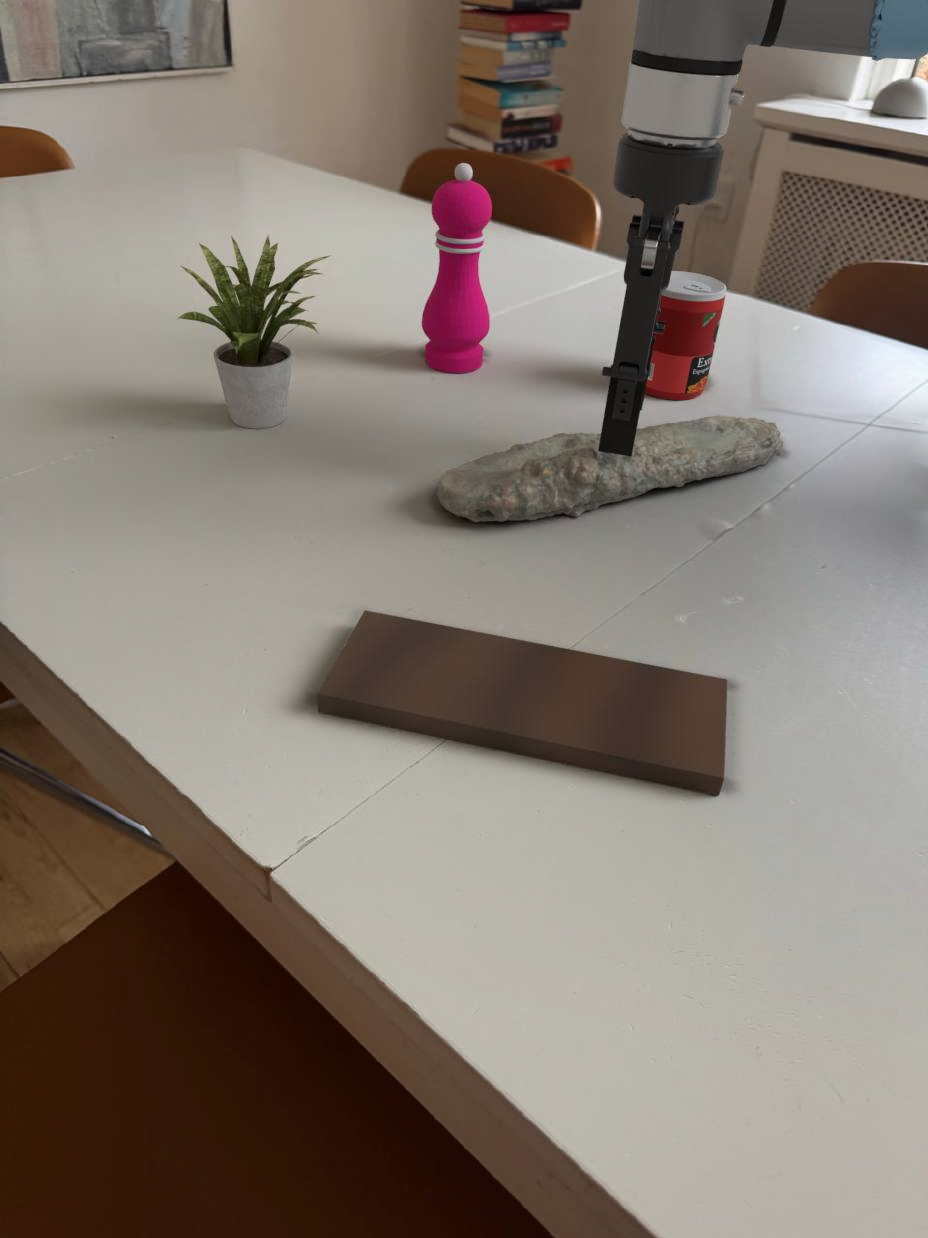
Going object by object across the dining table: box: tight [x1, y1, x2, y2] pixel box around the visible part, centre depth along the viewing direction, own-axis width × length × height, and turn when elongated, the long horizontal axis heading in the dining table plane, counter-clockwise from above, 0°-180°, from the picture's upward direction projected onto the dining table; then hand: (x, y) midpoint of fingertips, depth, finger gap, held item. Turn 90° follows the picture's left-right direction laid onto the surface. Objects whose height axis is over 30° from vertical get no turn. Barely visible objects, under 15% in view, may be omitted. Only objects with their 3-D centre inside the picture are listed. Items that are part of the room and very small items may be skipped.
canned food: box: [645, 270, 727, 401], centre depth 100 cm, size 8×8×11 cm
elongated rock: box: [436, 415, 785, 523], centre depth 84 cm, size 35×5×10 cm
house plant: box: [177, 234, 333, 430], centre depth 85 cm, size 14×14×16 cm
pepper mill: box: [421, 162, 493, 374], centre depth 99 cm, size 7×7×20 cm
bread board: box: [316, 609, 728, 797], centre depth 60 cm, size 24×9×2 cm, turn 76°
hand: (621, 428), depth 82 cm, fingers open, 9 cm apart
